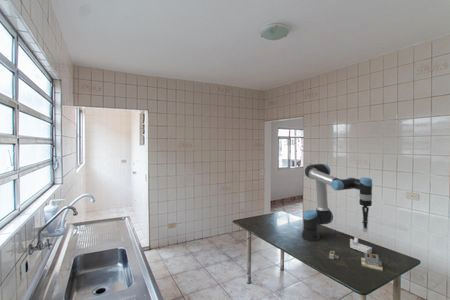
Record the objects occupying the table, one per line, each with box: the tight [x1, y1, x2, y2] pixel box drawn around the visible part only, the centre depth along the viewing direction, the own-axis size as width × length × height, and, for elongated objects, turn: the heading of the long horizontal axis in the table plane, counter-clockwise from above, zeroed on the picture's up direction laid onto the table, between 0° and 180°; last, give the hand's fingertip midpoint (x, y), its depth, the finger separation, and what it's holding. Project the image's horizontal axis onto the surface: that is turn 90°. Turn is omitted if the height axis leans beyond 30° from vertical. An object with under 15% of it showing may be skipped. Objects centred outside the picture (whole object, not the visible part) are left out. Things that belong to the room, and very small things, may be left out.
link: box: [364, 252, 380, 267], centre depth 163 cm, size 8×8×5 cm
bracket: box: [349, 236, 373, 254], centre depth 185 cm, size 13×7×8 cm, turn 32°
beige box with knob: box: [328, 250, 336, 260], centre depth 176 cm, size 6×3×4 cm, turn 151°
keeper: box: [360, 253, 384, 272], centre depth 163 cm, size 12×12×7 cm
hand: (364, 228), depth 171 cm, fingers open, 13 cm apart
